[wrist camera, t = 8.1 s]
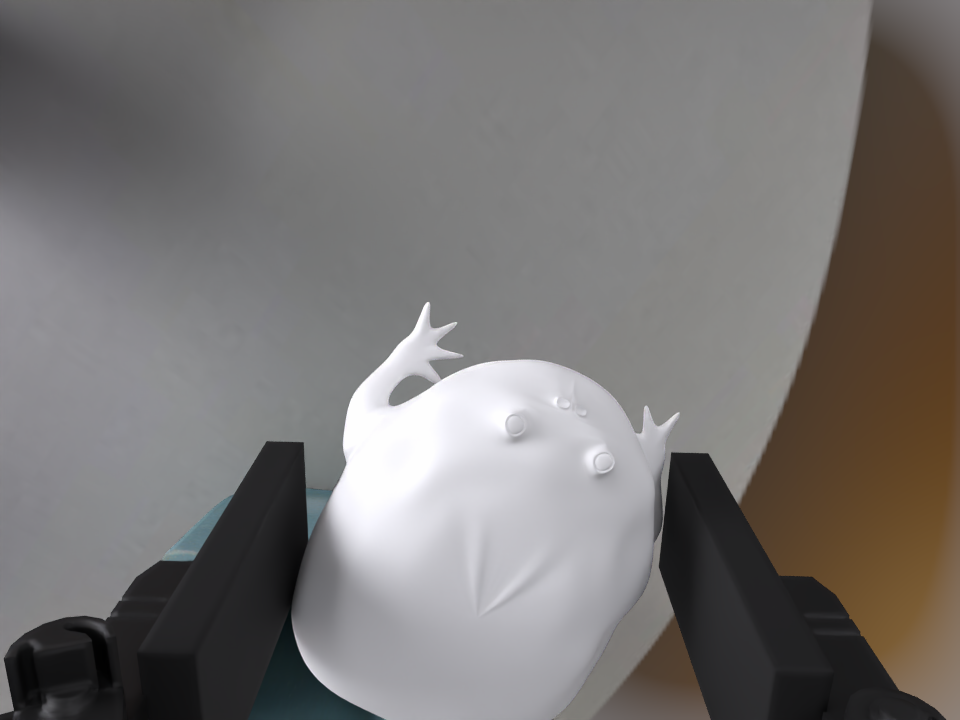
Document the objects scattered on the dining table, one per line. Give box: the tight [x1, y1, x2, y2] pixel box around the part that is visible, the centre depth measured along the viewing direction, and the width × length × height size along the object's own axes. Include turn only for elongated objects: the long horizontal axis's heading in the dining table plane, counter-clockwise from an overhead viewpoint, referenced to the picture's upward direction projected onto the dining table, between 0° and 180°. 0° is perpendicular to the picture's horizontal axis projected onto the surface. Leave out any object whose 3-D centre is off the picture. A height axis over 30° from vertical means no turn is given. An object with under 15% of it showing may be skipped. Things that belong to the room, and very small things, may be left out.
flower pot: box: [162, 488, 386, 720], centre depth 35 cm, size 9×9×9 cm
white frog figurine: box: [291, 302, 680, 720], centre depth 16 cm, size 8×7×4 cm
